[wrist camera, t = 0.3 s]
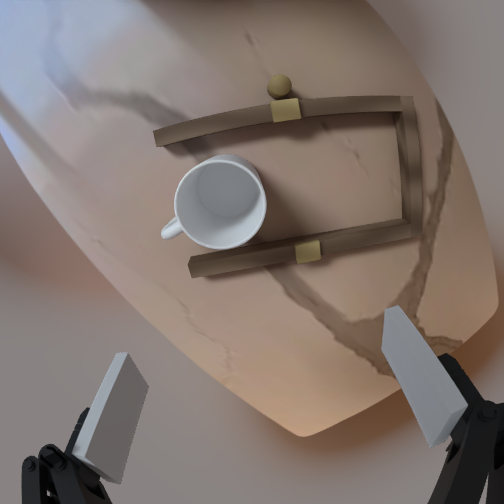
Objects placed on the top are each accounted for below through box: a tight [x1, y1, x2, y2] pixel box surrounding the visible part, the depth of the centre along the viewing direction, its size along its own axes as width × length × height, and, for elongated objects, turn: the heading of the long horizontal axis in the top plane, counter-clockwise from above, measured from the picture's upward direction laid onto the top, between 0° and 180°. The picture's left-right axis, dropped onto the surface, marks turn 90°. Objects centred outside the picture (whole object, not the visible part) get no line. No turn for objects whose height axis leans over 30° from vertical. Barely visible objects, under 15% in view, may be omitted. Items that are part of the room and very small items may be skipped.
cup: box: [161, 154, 267, 249], centre depth 30 cm, size 8×12×10 cm
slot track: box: [153, 75, 422, 278], centre depth 32 cm, size 22×32×3 cm
